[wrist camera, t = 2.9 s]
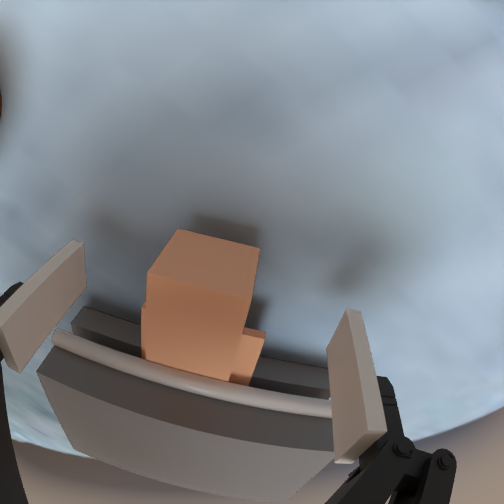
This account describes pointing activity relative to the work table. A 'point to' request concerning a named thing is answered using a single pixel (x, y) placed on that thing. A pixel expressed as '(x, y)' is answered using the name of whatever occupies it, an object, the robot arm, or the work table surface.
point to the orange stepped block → (202, 308)
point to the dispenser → (187, 414)
